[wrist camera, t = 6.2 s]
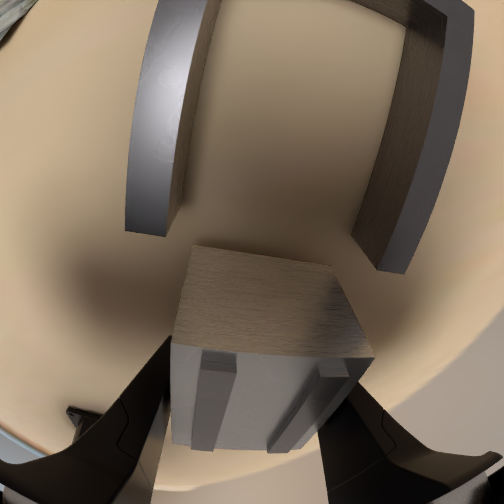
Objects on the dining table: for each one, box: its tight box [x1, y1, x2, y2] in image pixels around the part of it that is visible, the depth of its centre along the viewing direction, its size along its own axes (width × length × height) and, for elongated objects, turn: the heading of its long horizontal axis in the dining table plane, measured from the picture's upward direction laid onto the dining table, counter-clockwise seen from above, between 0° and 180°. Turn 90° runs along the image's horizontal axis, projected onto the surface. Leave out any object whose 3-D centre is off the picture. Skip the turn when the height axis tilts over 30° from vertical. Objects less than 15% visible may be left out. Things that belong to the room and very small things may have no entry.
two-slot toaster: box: [170, 245, 375, 453], centre depth 9 cm, size 6×5×5 cm
